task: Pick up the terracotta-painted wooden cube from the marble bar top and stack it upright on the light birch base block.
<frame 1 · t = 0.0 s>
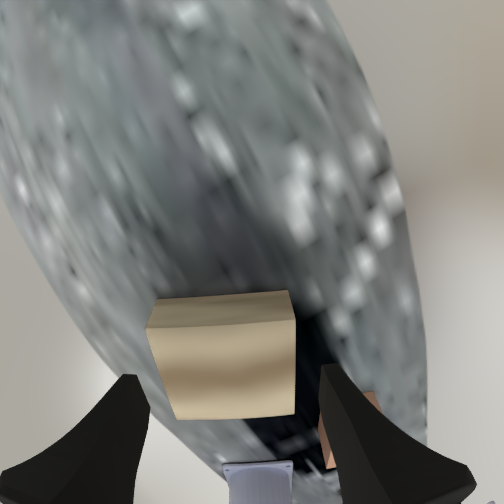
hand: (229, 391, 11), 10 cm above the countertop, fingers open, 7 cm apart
birch base: (228, 346, 23), on the countertop
terracotta cube: (344, 411, 27), on the countertop
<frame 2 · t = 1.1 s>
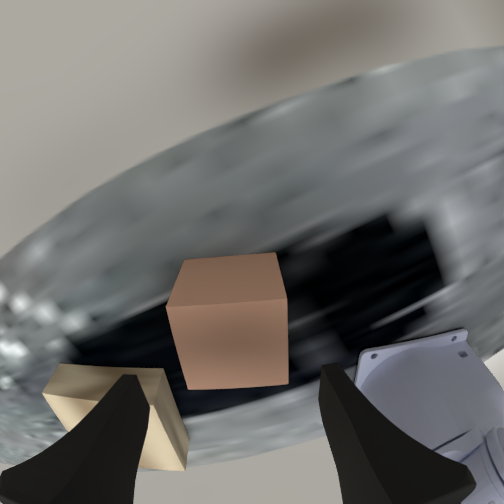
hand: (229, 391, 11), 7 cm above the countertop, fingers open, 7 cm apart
birch base: (125, 406, 22), on the countertop
terracotta cube: (233, 295, 18), on the countertop
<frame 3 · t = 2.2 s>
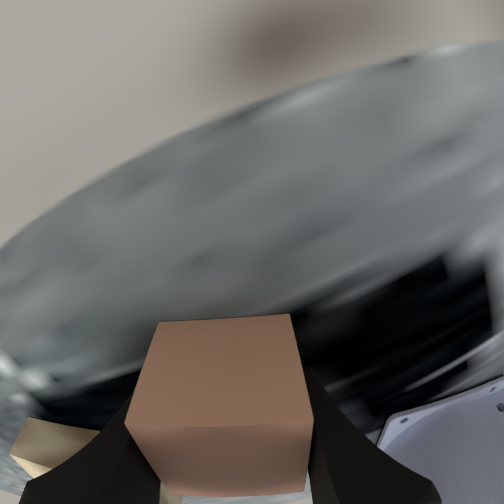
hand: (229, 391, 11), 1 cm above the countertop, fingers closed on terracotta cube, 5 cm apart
birch base: (106, 464, 16), on the countertop
terracotta cube: (230, 366, 13), on the countertop, touching gripper
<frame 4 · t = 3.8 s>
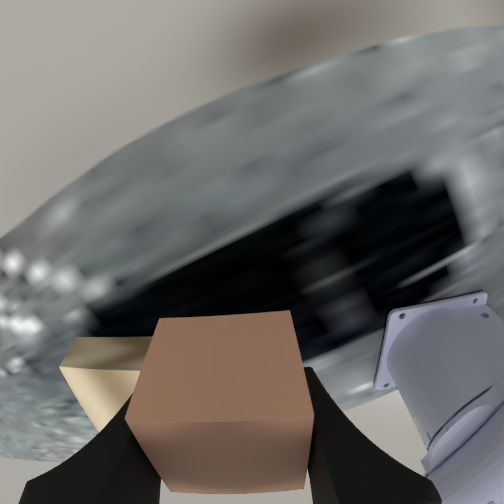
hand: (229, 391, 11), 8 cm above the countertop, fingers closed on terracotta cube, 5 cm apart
birch base: (146, 381, 22), on the countertop
terracotta cube: (230, 363, 13), point 7 cm above the countertop, touching gripper
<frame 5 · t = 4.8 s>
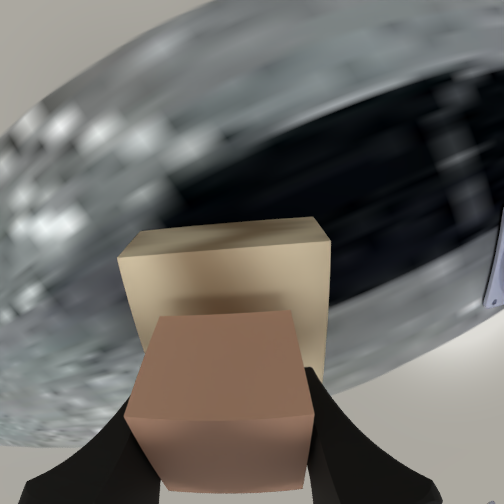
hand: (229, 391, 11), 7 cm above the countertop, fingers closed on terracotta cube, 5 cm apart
birch base: (233, 300, 18), on the countertop
terracotta cube: (229, 362, 13), point 5 cm above the countertop, touching gripper
when the fingers open (6 cm above the countertop, at t = 5.4 s): terracotta cube drops 1 cm, resting on birch base.
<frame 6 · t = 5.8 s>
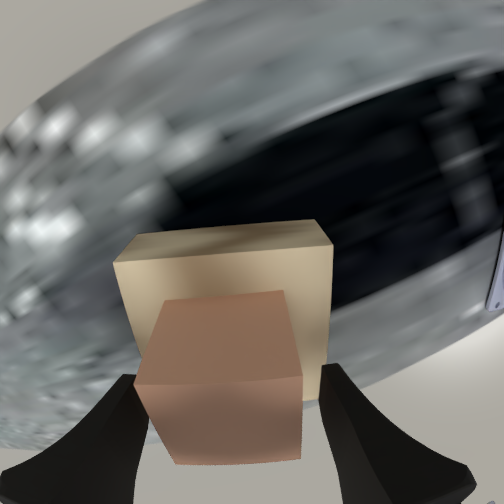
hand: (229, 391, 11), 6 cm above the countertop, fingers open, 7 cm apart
birch base: (232, 304, 17), on the countertop
terracotta cube: (230, 342, 14), point 3 cm above the countertop, touching birch base
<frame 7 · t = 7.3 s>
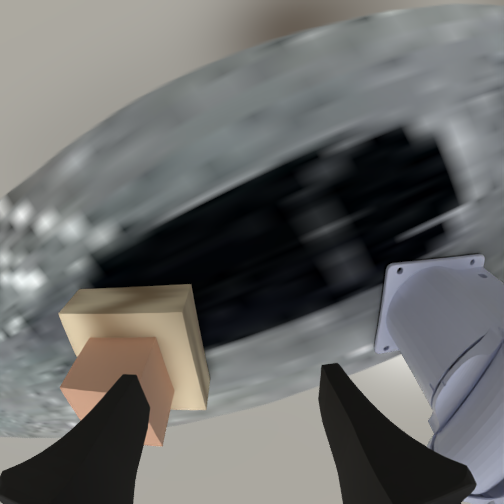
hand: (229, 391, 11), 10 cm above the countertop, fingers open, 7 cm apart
birch base: (145, 337, 23), on the countertop
terracotta cube: (132, 365, 20), point 3 cm above the countertop, touching birch base
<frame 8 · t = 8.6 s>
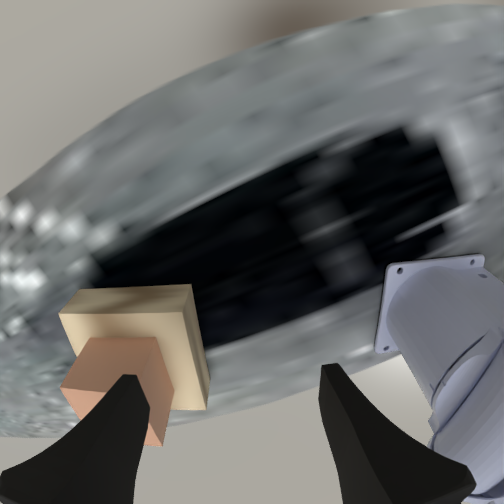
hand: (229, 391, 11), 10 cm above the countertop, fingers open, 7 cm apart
birch base: (145, 337, 23), on the countertop
terracotta cube: (132, 365, 20), point 3 cm above the countertop, touching birch base
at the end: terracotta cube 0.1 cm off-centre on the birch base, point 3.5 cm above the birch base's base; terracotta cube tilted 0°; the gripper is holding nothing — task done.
